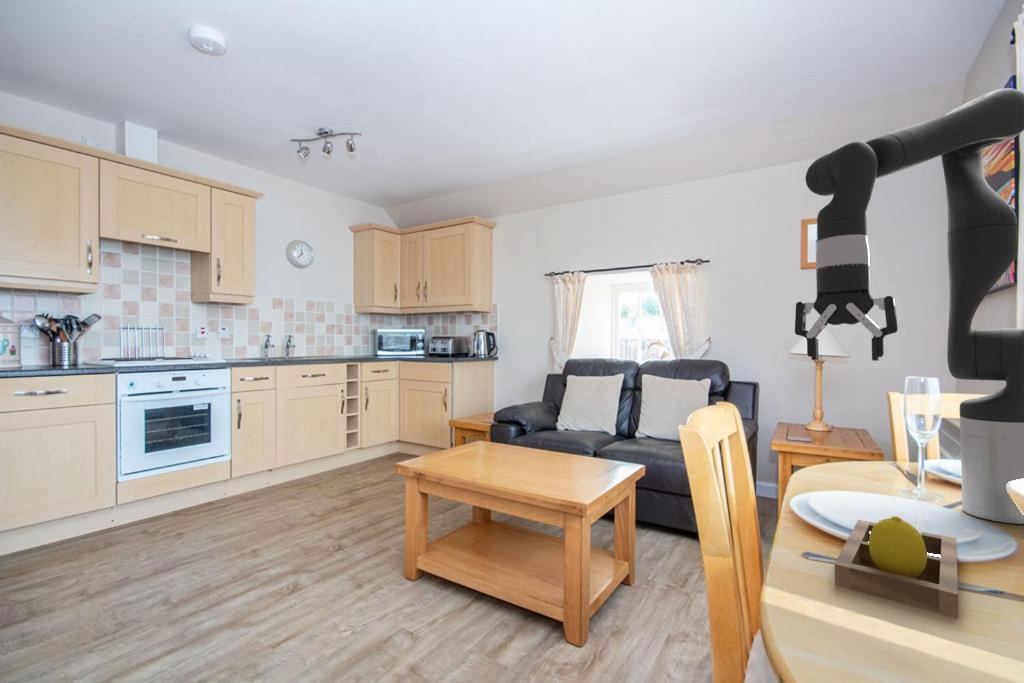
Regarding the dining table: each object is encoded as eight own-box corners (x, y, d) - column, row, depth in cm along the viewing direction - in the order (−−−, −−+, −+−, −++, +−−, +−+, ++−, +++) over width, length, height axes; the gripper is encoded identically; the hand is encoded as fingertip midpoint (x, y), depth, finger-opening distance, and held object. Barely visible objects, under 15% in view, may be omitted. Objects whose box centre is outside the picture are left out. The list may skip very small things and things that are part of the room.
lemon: (906, 573, 61) (905, 509, 61) (939, 595, 56) (938, 525, 56) (859, 570, 62) (858, 508, 62) (887, 592, 56) (886, 523, 56)
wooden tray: (858, 546, 73) (858, 519, 73) (957, 567, 66) (956, 538, 66) (835, 596, 58) (834, 563, 58) (958, 632, 51) (957, 594, 51)
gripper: (789, 268, 84) (791, 360, 84) (893, 256, 74) (895, 361, 74) (799, 272, 90) (801, 359, 89) (897, 262, 80) (899, 360, 80)
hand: (844, 360), depth 82 cm, fingers open, 8 cm apart
